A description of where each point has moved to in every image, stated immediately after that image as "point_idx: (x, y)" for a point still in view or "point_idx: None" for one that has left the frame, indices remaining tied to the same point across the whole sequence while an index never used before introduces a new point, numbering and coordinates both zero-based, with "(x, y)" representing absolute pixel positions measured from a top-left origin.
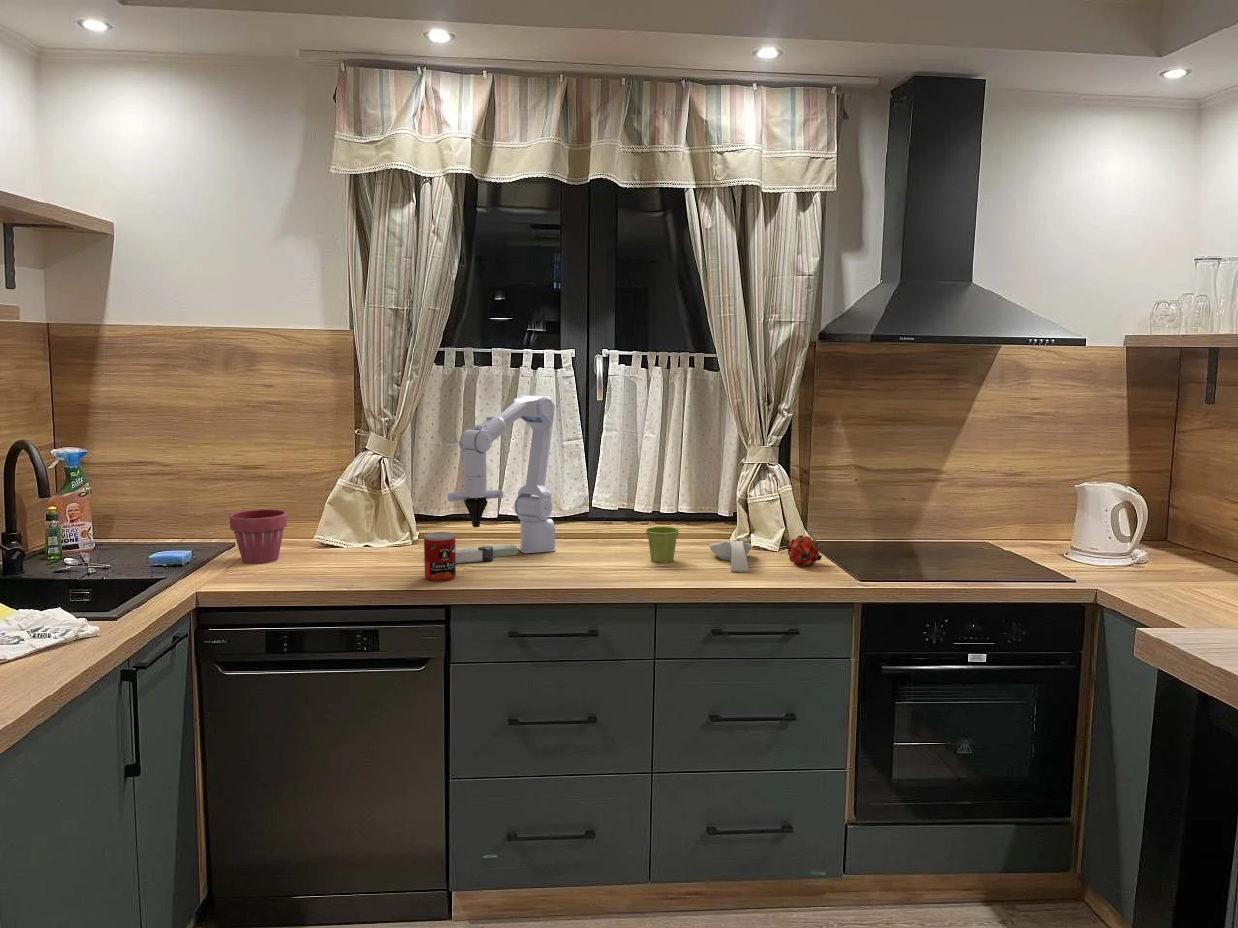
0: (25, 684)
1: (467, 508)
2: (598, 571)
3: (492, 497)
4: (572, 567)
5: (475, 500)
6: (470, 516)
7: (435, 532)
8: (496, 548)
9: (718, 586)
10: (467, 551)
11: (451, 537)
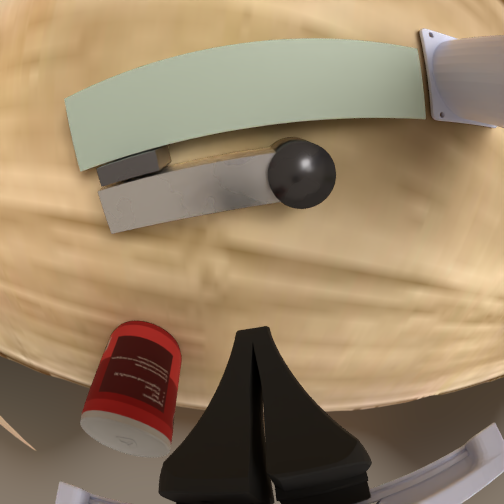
0: (12, 432)
1: (199, 431)
2: (461, 328)
3: (419, 477)
4: (452, 299)
5: (276, 493)
6: (224, 379)
7: (98, 419)
8: (356, 98)
9: (484, 378)
10: (215, 203)
11: (163, 454)
